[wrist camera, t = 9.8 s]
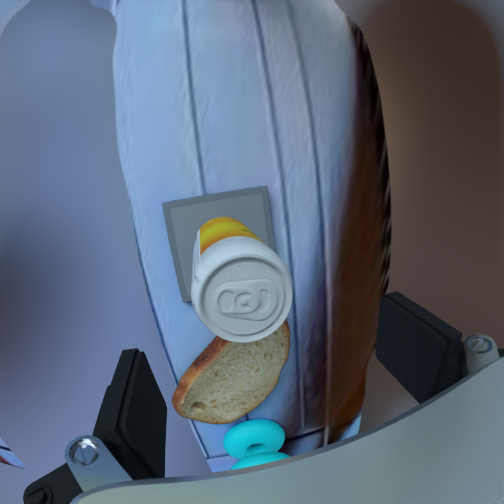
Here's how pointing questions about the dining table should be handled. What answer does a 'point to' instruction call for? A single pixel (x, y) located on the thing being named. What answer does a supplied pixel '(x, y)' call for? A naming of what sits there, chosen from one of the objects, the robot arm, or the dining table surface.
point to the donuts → (255, 442)
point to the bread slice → (231, 378)
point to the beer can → (238, 282)
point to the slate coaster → (204, 209)
